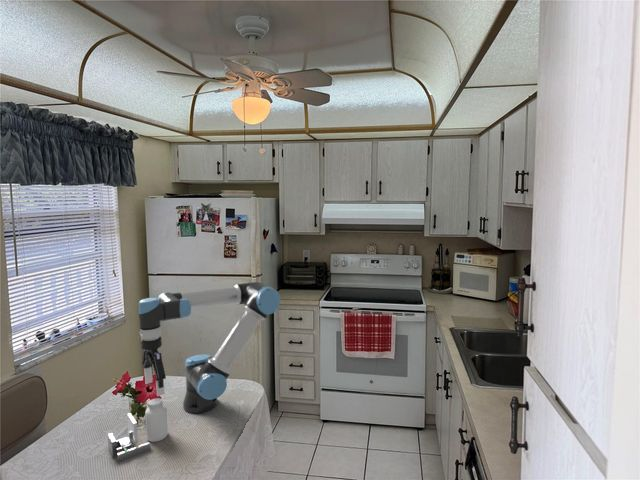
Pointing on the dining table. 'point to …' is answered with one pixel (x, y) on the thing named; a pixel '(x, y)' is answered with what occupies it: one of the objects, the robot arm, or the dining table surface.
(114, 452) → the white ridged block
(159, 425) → the pill bottle
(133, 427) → the white l-shaped bracket
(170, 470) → the dining table surface
